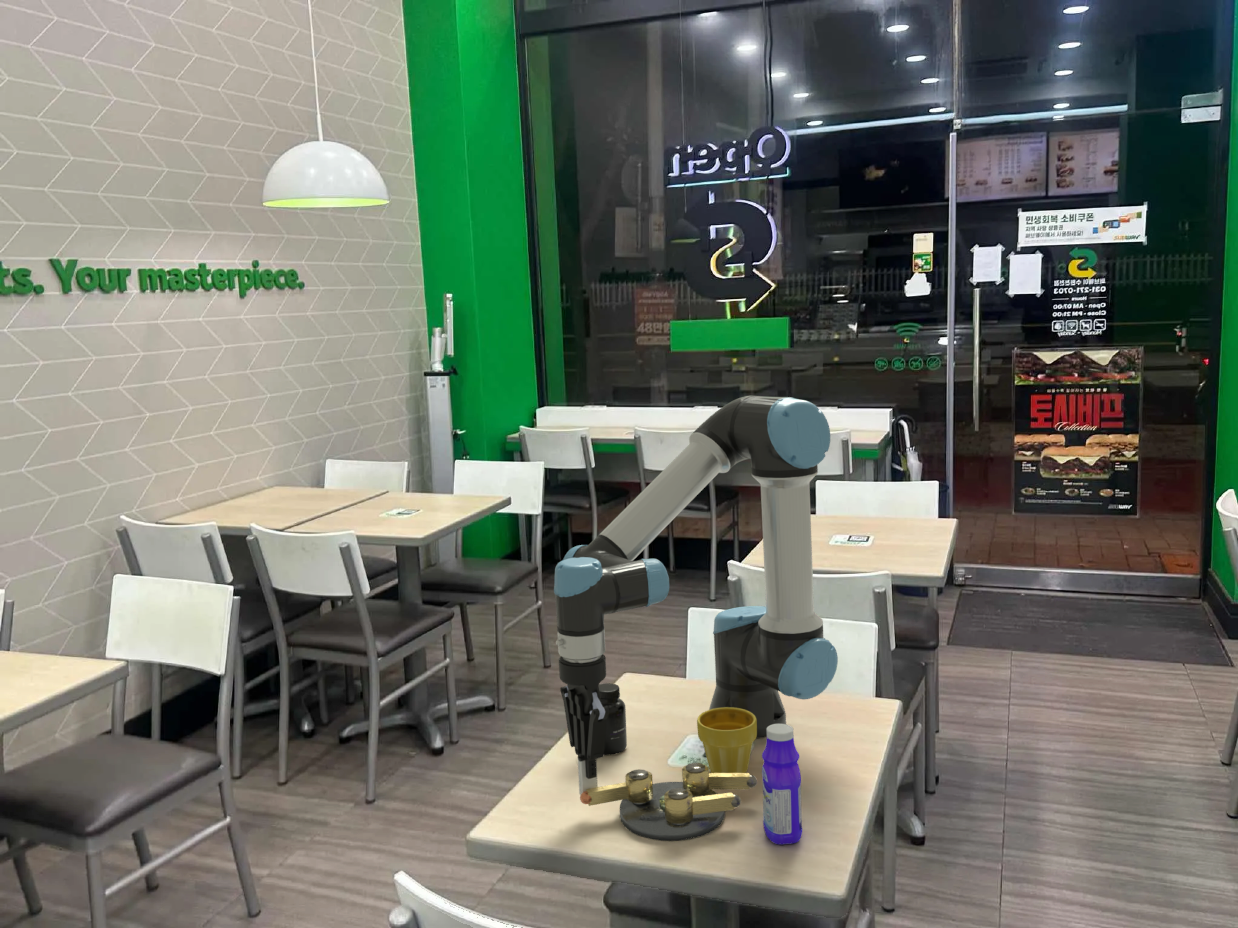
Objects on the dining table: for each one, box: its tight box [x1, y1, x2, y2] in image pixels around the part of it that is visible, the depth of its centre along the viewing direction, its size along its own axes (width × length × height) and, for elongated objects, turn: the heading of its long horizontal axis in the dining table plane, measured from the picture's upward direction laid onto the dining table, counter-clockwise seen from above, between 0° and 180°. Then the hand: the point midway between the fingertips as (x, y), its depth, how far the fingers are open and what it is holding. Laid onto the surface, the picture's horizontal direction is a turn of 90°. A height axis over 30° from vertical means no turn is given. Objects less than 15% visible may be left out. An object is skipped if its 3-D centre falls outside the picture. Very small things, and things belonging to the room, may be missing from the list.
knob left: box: [681, 762, 758, 796], centre depth 170 cm, size 12×4×4 cm, turn 84°
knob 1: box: [579, 768, 654, 807], centre depth 168 cm, size 12×4×4 cm, turn 107°
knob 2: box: [664, 788, 742, 824], centre depth 162 cm, size 12×4×4 cm, turn 99°
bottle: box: [761, 723, 803, 845], centre depth 158 cm, size 7×6×17 cm
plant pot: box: [696, 707, 757, 773], centre depth 181 cm, size 10×10×10 cm
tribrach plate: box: [619, 781, 726, 842], centre depth 167 cm, size 17×17×3 cm
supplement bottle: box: [599, 682, 628, 756], centre depth 193 cm, size 7×7×12 cm
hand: (588, 793), depth 168 cm, fingers closed
